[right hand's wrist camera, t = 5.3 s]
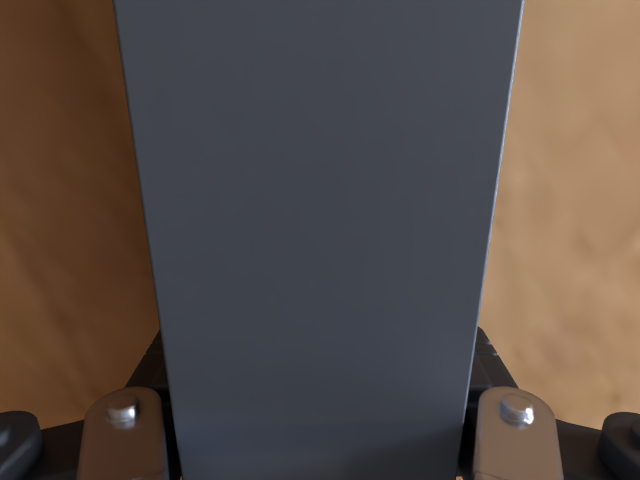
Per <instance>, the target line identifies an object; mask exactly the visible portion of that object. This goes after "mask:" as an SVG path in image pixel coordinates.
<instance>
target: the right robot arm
mask: <svg viewBox="0 0 640 480" xmlns="http://www.w3.org/2000/svg"><path fill="white" fill-rule="evenodd" d="M181 476H182V475H181V468H180V461H179V454H178V447H177V440H176V434H175V427H174V420H173V413H172V406H171V399H170V392H169V386H168V379H167V372H166V365H165V358H164V351H163V345H162V338H161V331H160V330H159V332H158V333H157V335H156V337H155V338H154V340H153V343H152V344H151V345H150V347H149V348H148V350H147V351H146V355H144V356H143V358H142V360H141V361H140V363H139V365H138V366H137V368H136V370H135V371H134V373H133V374H132V376H131V378H130V379H129V381H128V383H127V384H126V386H125V388H122V389H119V390H116V391H113V392H111V393H109V394H107V395H105V396H103V397H102V398H100V399H99V400H97V401H96V402H95V403H94V404H93V405H92V406H91V407H90V408H89V410H88V411H87V413H86V416H85V419H84V420H81V421H77V422H73V423H69V424H64V425H60V426H56V427H51V428H47V429H42V430H40V426H39V423H38V420H37V418H36V417H35V416H34V415H33V414H31V413H29V412H26V411H9V412H3V413H0V480H180V477H181ZM456 476H462V478H463V480H640V414H637V413H630V412H618V413H614V414H611V415H609V416H608V417H607V418H606V419H605V420H604V423H603V426H602V430H598V429H593V428H589V427H584V426H580V425H575V424H571V423H567V422H563V421H560V420H558V419H555V416H554V413H553V411H552V410H551V408H550V407H549V406H548V405H547V404H546V403H545V402H544V401H543V400H541V399H540V398H538V397H537V396H535V395H533V394H531V393H529V392H527V391H524V390H521V389H519V388H518V386H517V385H516V383H515V381H514V380H513V378H512V377H511V375H510V373H509V372H508V370H507V368H506V367H505V365H504V364H503V362H502V360H501V359H500V357H499V355H497V352H496V351H495V349H494V347H493V346H492V345H490V341H489V339H488V338H487V336H486V334H485V333H484V331H483V330H482V329H481V328H480V327H477V334H476V341H475V348H474V355H473V362H472V369H471V376H470V383H469V390H468V397H467V404H466V411H465V418H464V425H463V432H462V439H461V446H460V453H459V460H458V467H457V474H456Z"/></svg>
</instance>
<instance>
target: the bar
mask: <svg viewBox="0 0 640 480" xmlns="http://www.w3.org/2000/svg"><path fill="white" fill-rule="evenodd" d="M112 2H113V9H114V16H115V23H116V29H117V36H118V43H119V50H120V57H121V64H122V70H123V77H124V84H125V91H126V98H127V105H128V112H129V118H130V125H131V132H132V139H133V146H134V153H135V160H136V166H137V173H138V180H139V187H140V194H141V201H142V208H143V214H144V221H145V228H146V235H147V242H148V249H149V255H150V262H151V269H152V276H153V283H154V290H155V297H156V303H157V310H158V317H159V324H160V331H161V338H162V345H163V351H164V358H165V365H166V372H167V379H168V386H169V392H170V399H171V406H172V413H173V420H174V427H175V434H176V440H177V447H178V454H179V461H180V468H181V475H182V480H456V474H457V467H458V460H459V453H460V446H461V439H462V432H463V425H464V418H465V411H466V404H467V397H468V390H469V383H470V376H471V369H472V362H473V355H474V348H475V341H476V334H477V327H478V320H479V314H480V307H481V300H482V293H483V286H484V279H485V272H486V265H487V258H488V251H489V244H490V237H491V230H492V223H493V216H494V209H495V202H496V195H497V188H498V181H499V174H500V167H501V160H502V153H503V146H504V139H505V132H506V125H507V118H508V111H509V104H510V97H511V91H512V84H513V77H514V70H515V63H516V56H517V49H518V42H519V35H520V28H521V21H522V14H523V7H524V0H112Z"/></svg>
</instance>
